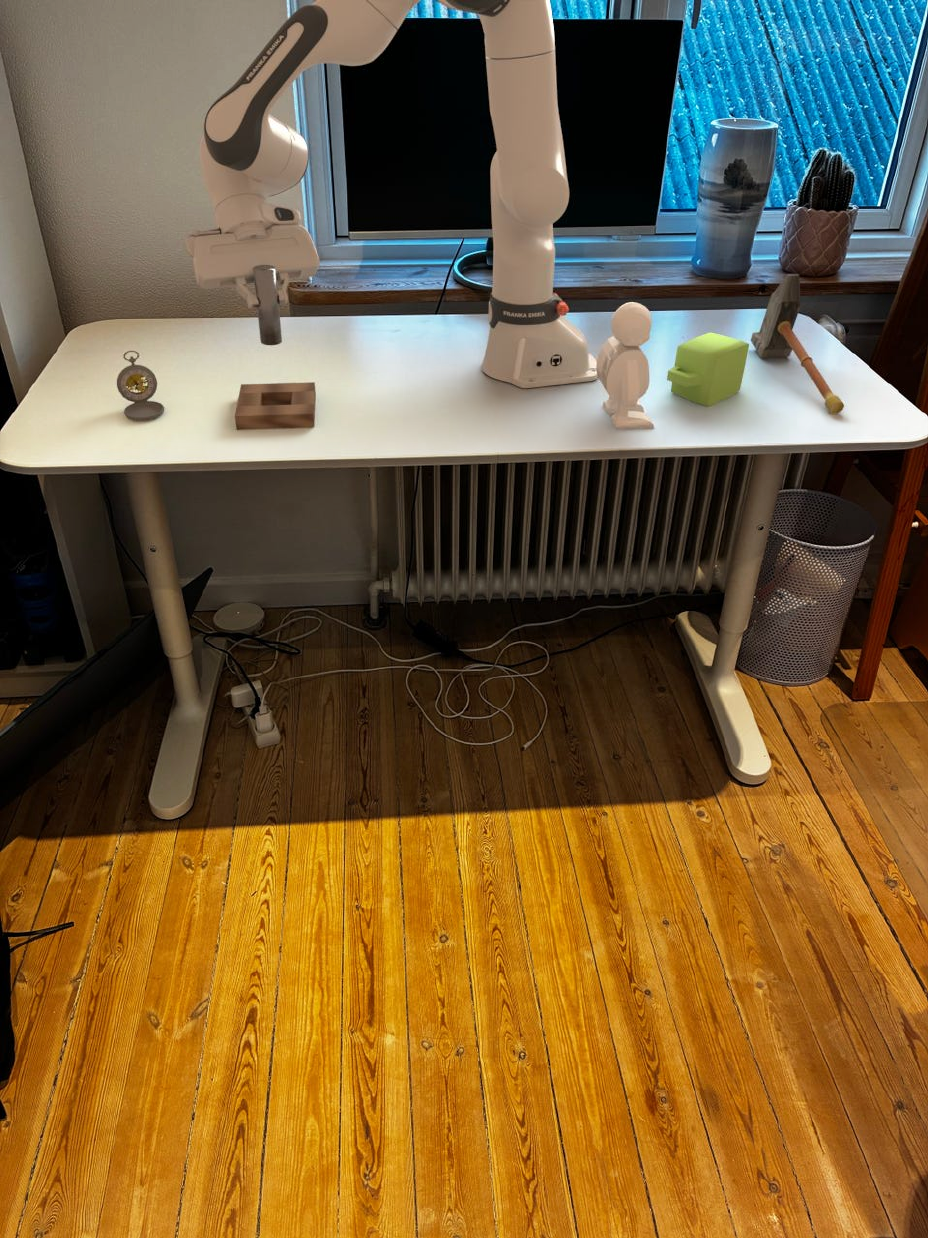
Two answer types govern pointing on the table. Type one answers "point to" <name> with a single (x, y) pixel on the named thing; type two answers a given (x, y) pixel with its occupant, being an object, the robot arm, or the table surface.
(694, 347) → the lime green lipped cube
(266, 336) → the steel pin
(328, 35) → the robot arm
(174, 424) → the table surface
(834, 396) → the hammer
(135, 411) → the pocket watch
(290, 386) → the socket plate
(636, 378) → the toy robot
